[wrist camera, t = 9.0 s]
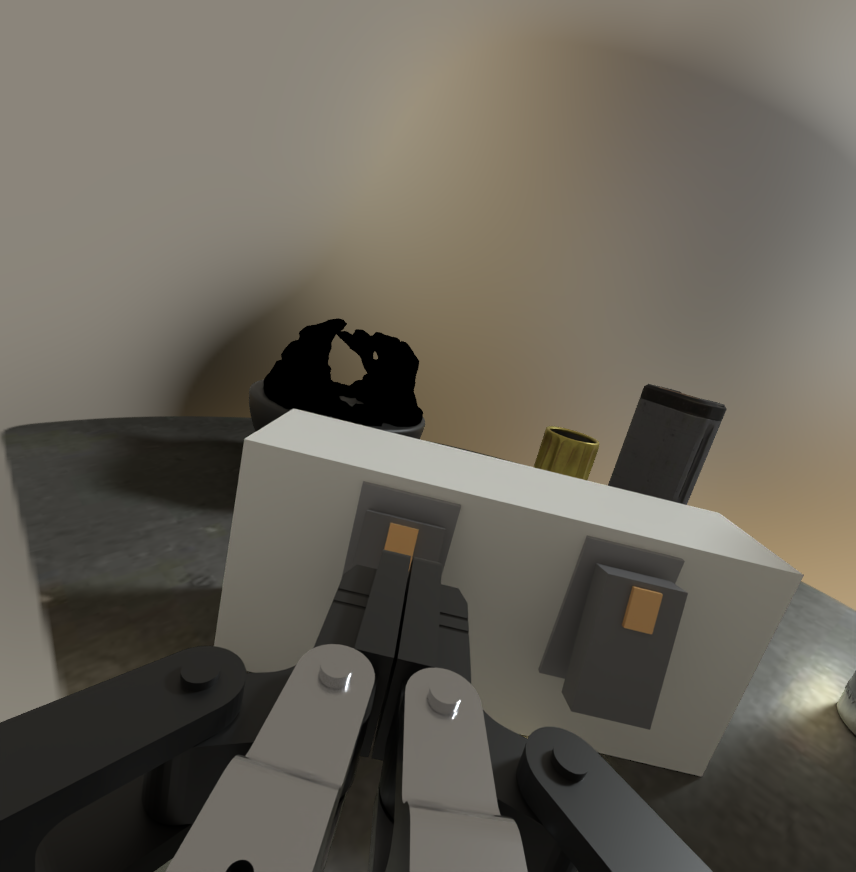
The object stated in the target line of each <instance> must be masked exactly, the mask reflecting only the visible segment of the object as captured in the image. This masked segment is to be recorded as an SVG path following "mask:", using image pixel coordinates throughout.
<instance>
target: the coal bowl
mask: <svg viewBox="0 0 856 872" xmlns="http://www.w3.org/2000/svg"><path fill="white" fill-rule="evenodd" d="M346 325H347V323H345V321H344V320H342V319H332V320H328V321H326V322H323V323H320V324H317V325H311V326H306V327H305V328H303V329H302V330H301V331H300V332H299V335H300V337H299V340H295V341H293V342H291V343H290V344H289V345H288V346H287V347H286V348H285V349H284V351H283V353H282V354H281V357H282V360H279V361H276V363H275V365H274V367H273V368H272V370H271V371H270V373H269V374H268V375H267V376H266V377H265V379H264V380H261V381H257V382H255V383H253V384H252V385H251V388H250V391H249V406H250V413H251V418H252V422H253V426H254V428H255V431H258V430H260V429H261V428H263V427H265V426H266V425H268V424H269V423H271V422H273V421H274V420H276V419H277V418H279V417H281V416H282V415H284V414H286V413H287V412H289V411H290V410H292V409H298V410H302V411H306V412H310V413H314V414H318V415H322V416H326V417H330V418H334V419H338V420H342V421H347V422H351V423H355V424H359V425H363V426H367V427H371V428H375V429H379V430H383V431H387V432H391V433H395V434H399V435H404V436H408V437H412V438H416V439H420V437H421V435H422V432H423V429H424V427H425V420H424V418H423V416H422V415H423V411H422V410H421V409H420V408H419V407H418V406H417V402H416V398H415V394H414V387H415V378H416V374H417V370H418V366H419V360H418V359H417V357H416V356H415V355H414V353H413V351H412V350H411V348H410V347H409V345H408V344H407V343H406V342H403V341H401V342H400V340H399V339H398V338H395V337H391V336H388V335H384V334H382V333H379V332H376V333H375V334H374V335H373V336H370V335H369V334H368V333H366V332H365V331H364V330H355V332H354V334H353V335H352V334H350V333H348V332H346V331H341V330H343V329H344V327H345V326H346ZM336 334H337V335H338V336H339V337H340V338H341V339H342V340H343V341H344V342H345V343H346V344H347V345H348V346H349V347H350V349H352V350H353V351H355V352H356V353H357V354H358V355H359V356H360V357H361V359H362V363H363V366H364V368H365V370H366V371H367V373H368V374H366V375H364V376H363V379H362V380H357V381H355V382H354V383H353V384H351V385H350V386H348V385H345V384H341V383H338V382H333V381H332V380H331V374H330V372H331V368H330V366H329V365H328V359H329V353H330V350H331V342H332V340H333V338H334V337H335V335H336ZM374 351H375V352H376V353H377V355H378V359H377V360H375V359H373V353H374Z"/></svg>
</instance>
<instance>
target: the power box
mask: <svg viewBox="0 0 856 872" xmlns="http://www.w3.org/2000/svg"><path fill="white" fill-rule="evenodd" d="M368 509H370V510H374V511H378V512H382V513H386V514H390V515H394V516H399V517H403V518H407V519H411V520H415V521H419V522H423V523H428V524H432V525H436V526H440V527H444V528H445V529H446V532H445V536H444V540H443V545H442V549H441V553H440V558H439V563H442V574H441V584H443V585H447V586H451V587H455V588H459V590H460V591H461V593H462V595H463V596H464V598H465V600H466V601H467V603H468V622H469V633H468V634H469V643H470V664H471V684H472V686H473V687H474V688H475V690H476V691H477V693H478V695H479V697H480V699H481V703H482V708H483V710H484V711H485V712H486V713H487V714H488V715H489V716H490V717H491V718H492V719H494V720H495V721H496V722H497V723H499V724H501V725H502V726H504V727H506V728H508V729H509V730H511V731H513V732H515V733H517V734H520V735H525V736H530V735H531V733H532V732H533V731H535V730H536V729H539V728H541V727H558V728H562V729H565V730H568V731H570V732H572V733H574V734H576V735H577V736H579V737H580V738H582V739H583V740H584V741H586V742H587V743H588V744H589V745H590V746H591V747H592V748H593V749H594V750H595V751H596V752H598V753H602V754H606V755H611V756H615V757H619V758H624V759H628V760H632V761H637V762H641V763H645V764H649V765H654V766H658V767H662V768H667V769H671V770H675V771H680V772H684V773H688V774H692V775H697V776H701V777H702V775H703V773H704V771H705V769H706V767H707V765H708V763H709V761H710V759H711V757H712V755H713V753H714V751H715V749H716V748H717V746H718V744H719V742H720V740H721V738H722V736H723V734H724V732H725V730H726V728H727V726H728V724H729V722H730V720H731V718H732V716H733V714H734V712H735V710H736V708H737V706H738V704H739V702H740V700H741V698H742V696H743V694H744V692H745V690H746V688H747V686H748V684H749V682H750V680H751V678H752V676H753V674H754V672H755V671H756V669H757V667H758V665H759V663H760V661H761V659H762V657H763V655H764V653H765V651H766V649H767V647H768V645H769V643H770V641H771V639H772V637H773V635H774V633H775V631H776V629H777V627H778V625H779V623H780V621H781V619H782V617H783V615H784V613H785V611H786V609H787V607H788V605H789V603H790V601H791V599H792V597H793V595H794V594H795V592H796V590H797V588H798V586H799V584H800V582H801V580H802V578H803V576H804V575H803V574H801V573H800V572H799V571H797V570H796V569H795V568H793V567H792V566H791V565H789V564H788V563H786V562H785V561H784V560H782V559H781V558H780V557H778V556H777V555H776V554H774V553H773V552H772V551H770V550H769V549H767V548H766V547H765V546H763V545H762V544H761V543H759V542H758V541H757V540H755V539H754V538H752V537H751V536H750V535H748V534H747V533H746V532H744V531H743V530H742V529H740V528H739V527H738V526H736V525H735V524H733V523H732V522H731V521H729V520H728V519H727V518H725V517H724V516H722V515H721V514H719V513H717V512H713V511H709V510H705V509H701V508H697V507H693V506H689V505H684V504H680V503H676V502H672V501H668V500H664V499H660V498H656V497H652V496H648V495H644V494H640V493H636V492H632V491H627V490H623V489H619V488H615V487H611V486H607V485H603V484H599V483H595V482H591V481H587V480H583V479H579V478H575V477H570V476H566V475H562V474H558V473H554V472H550V471H546V470H542V469H538V468H534V467H530V466H526V465H522V464H518V463H513V462H509V461H505V460H501V459H497V458H493V457H489V456H485V455H481V454H477V453H473V452H469V451H465V450H461V449H456V448H452V447H448V446H444V445H440V444H436V443H432V442H428V441H424V440H420V439H416V438H412V437H408V436H404V435H399V434H395V433H391V432H387V431H383V430H379V429H375V428H371V427H367V426H363V425H359V424H355V423H351V422H347V421H342V420H338V419H334V418H330V417H326V416H322V415H318V414H314V413H310V412H306V411H302V410H298V409H292V410H290V411H289V412H287V413H286V414H284V415H282V416H281V417H279V418H277V419H276V420H274V421H273V422H271V423H269V424H268V425H266V426H265V427H263V428H261V429H260V430H258V431H256V432H255V433H253V434H252V435H250V436H248V437H247V438H245V439H244V445H243V452H242V459H241V466H240V472H239V479H238V486H237V493H236V499H235V506H234V513H233V520H232V526H231V533H230V540H229V547H228V554H227V560H226V567H225V574H224V581H223V587H222V594H221V601H220V608H219V615H218V621H217V628H216V635H215V642H214V646H216V647H221V648H225V649H228V650H230V651H232V652H233V653H235V654H236V655H238V656H239V657H240V658H241V660H242V661H243V663H244V665H245V668H246V671H249V672H254V673H260V672H275V671H280V670H285V669H288V668H290V667H293V666H295V665H297V663H298V661H299V660H300V658H301V657H302V656H303V655H304V654H305V653H306V652H308V651H309V650H311V649H313V648H314V645H315V643H316V640H317V638H318V635H319V633H320V631H321V628H322V626H323V623H324V621H325V618H326V616H327V613H328V611H329V609H330V606H331V604H332V602H333V599H334V596H335V594H336V591H337V590H338V587H339V584H340V582H341V579H342V577H343V574H344V573H346V572H347V571H349V570H350V569H351V568H352V564H353V560H354V557H355V553H356V549H357V545H358V541H359V537H360V533H361V529H362V525H363V521H364V517H365V513H366V510H368ZM596 563H598V564H602V565H606V566H610V567H614V568H618V569H623V570H627V571H631V572H635V573H639V574H643V575H647V576H651V577H656V578H660V579H664V580H668V581H671V582H673V583H674V584H676V585H677V586H679V587H680V588H681V589H683V590H684V591H686V592H687V593H688V595H687V599H686V602H685V606H684V610H683V613H682V617H681V620H680V624H679V628H678V631H677V635H676V638H675V642H674V646H673V649H672V653H671V656H670V660H669V664H668V667H667V671H666V674H665V678H664V682H663V685H662V689H661V692H660V696H659V700H658V703H657V707H656V710H655V714H654V718H653V721H652V725H651V728H650V730H649V729H644V728H640V727H636V726H632V725H627V724H623V723H619V722H614V721H610V720H606V719H602V718H597V717H593V716H589V715H585V714H580V713H576V712H572V711H571V710H570V708H569V706H568V704H567V702H566V700H565V698H564V696H563V694H562V688H563V684H564V681H565V677H566V673H567V669H568V666H569V662H570V658H571V655H572V651H573V647H574V643H575V640H576V636H577V632H578V628H579V625H580V621H581V617H582V613H583V610H584V606H585V602H586V598H587V595H588V591H589V587H590V583H591V580H592V576H593V572H594V568H595V565H596Z"/></svg>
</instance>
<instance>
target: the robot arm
mask: <svg viewBox="0 0 856 872" xmlns="http://www.w3.org/2000/svg"><path fill="white" fill-rule="evenodd" d="M410 560H411V556H409V555H405V554H401V553H396V552H392V551H388V550H384V549H383V551H382V554H381V557H380V561H379V564H378V568H377V569H374V568H370V567H366V566H362V565H358V564H357V565H355V566H354V567H353V568H351V569H350V570H349V571H347V572H346V573H344V574H343V577H342V579H341V582H340V584H339V587H338V590H337V591H336V594H335V596H334V599H333V602H332V604H331V606H330V609H329V611H328V613H327V616H326V618H325V621H324V623H323V626H322V628H321V631H320V633H319V635H318V638H317V640H316V643H315V645H314V648H313V649H311V650H309V651H308V652H306V653H305V654H304V655H303V656H302V657H301V658H300V660H299V661H298V663H297V665H295V666H293V667H290V668H288V669H285V670H280V671H275V672H260V673H246V668H245V665H244V663H243V661H242V660H241V658H240V657H239V656H238V655H236V654H235V653H233V652H232V651H230V650H228V649H225V648H221V647H216V646H198V647H193V648H188V649H185V650H182V651H180V652H177V653H175V654H172V655H170V656H167V657H165V658H162V659H160V660H157V661H155V662H152V663H149V664H147V665H144V666H142V667H139V668H137V669H134V670H132V671H129V672H127V673H124V674H122V675H119V676H117V677H114V678H112V679H109V680H107V681H104V682H102V683H99V684H97V685H94V686H91V687H89V688H86V689H84V690H81V691H79V692H76V693H74V694H71V695H69V696H66V697H64V698H61V699H59V700H56V701H54V702H51V703H49V704H46V705H44V706H41V707H39V708H36V709H33V710H31V711H28V712H26V713H23V714H21V715H18V716H16V717H13V718H11V719H8V720H6V721H4V722H1V723H0V872H154V871H155V870H157V869H158V868H159V867H161V866H162V865H164V864H165V863H166V862H168V861H169V860H171V859H172V858H173V857H174V858H173V860H172V861H171V863H170V865H169V867H168V868H167V870H166V872H324V869H325V865H326V862H327V859H328V855H329V852H330V849H331V845H332V842H333V838H334V835H335V832H336V828H337V825H338V822H339V818H340V815H341V812H342V808H343V805H344V801H345V798H346V794H347V791H348V790H349V788H350V787H351V785H352V783H353V780H354V777H355V773H356V769H357V765H358V761H359V757H360V756H364V757H368V756H369V752H370V749H371V745H372V741H373V737H374V733H375V729H376V725H377V721H378V726H377V731H376V737H375V742H374V748H373V754H372V758H374V759H378V760H382V761H383V766H382V773H381V779H380V783H379V787H378V791H377V794H376V798H375V802H374V809H373V821H372V833H371V844H370V856H369V868H368V872H576V871H577V870H578V871H579V872H713V871H712V870H711V869H710V868H709V867H708V866H707V865H706V864H705V863H704V862H703V861H702V860H701V859H700V858H699V857H698V856H697V855H696V854H695V853H694V852H693V851H692V850H691V849H690V848H689V847H688V846H687V845H686V844H685V842H684V841H683V840H682V839H681V838H680V837H679V836H678V835H677V834H676V833H675V832H674V831H673V830H672V829H671V828H670V827H669V826H668V825H667V824H666V823H665V822H664V821H663V820H662V819H661V818H660V817H659V816H658V815H657V814H656V813H655V812H654V810H653V809H652V808H651V807H650V806H649V805H648V804H647V803H646V802H645V801H644V800H643V799H642V798H641V797H640V796H639V795H638V794H637V793H636V792H635V791H634V790H633V789H632V788H631V787H630V786H629V785H628V784H627V783H626V782H625V781H624V780H623V778H622V777H621V776H620V775H619V774H618V773H617V772H616V771H615V770H614V769H613V768H612V767H611V766H610V765H609V764H608V763H607V762H606V761H605V760H604V759H603V758H602V757H601V756H600V755H599V754H598V753H597V752H596V751H595V750H594V749H593V748H592V747H591V746H590V745H589V744H588V743H587V742H586V741H584V740H583V739H582V738H580V737H579V736H577V735H576V734H574V733H572V732H570V731H568V730H565V729H562V728H558V727H541V728H539V729H536V730H535V731H533V732H532V733H531V735H530V736H529V738H528V739H526V738H524V737H523V736H521V735H519V734H517V733H515V732H513V731H511V730H509V729H508V728H506V727H504V726H502V725H501V724H499V723H497V722H496V721H495V720H494V719H492V718H491V717H490V716H489V715H488V714H487V713H486V712H485V711H484V710H483V708H482V703H481V699H480V697H479V695H478V693H477V691H476V690H475V688H474V687H473V686H472V684H471V664H470V643H469V634H468V633H469V622H468V603H467V601H466V600H465V598H464V596H463V595H462V593H461V591H460V590H459V588H455V587H451V586H447V585H443V584H441V574H442V563H439V562H435V561H431V560H426V559H422V558H418V557H414V556H413V559H412V563H411V566H410ZM409 566H410V570H409ZM408 571H409V574H408ZM407 577H408V578H407ZM837 710H838V713H839V714H840V716H841V718H842V720H843V721H844V722H845V724H846V725H847V726H848V728H849V729H850V730H851V731H852V732H853V733H854V734H855V735H856V671H855V673H854V674H853V676H852V678H851V679H850V680H849V681H848V683H847V685H846V687H845V690H844V692H843V694H842V696H841V697H840V699H839V701H838V703H837ZM379 714H380V715H379ZM378 718H379V720H378Z"/></svg>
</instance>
